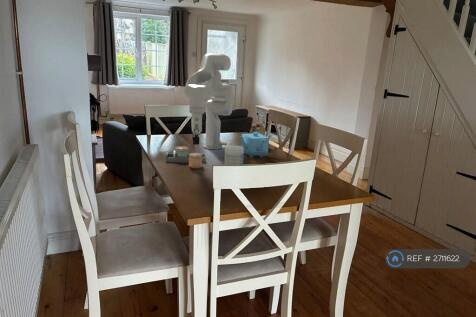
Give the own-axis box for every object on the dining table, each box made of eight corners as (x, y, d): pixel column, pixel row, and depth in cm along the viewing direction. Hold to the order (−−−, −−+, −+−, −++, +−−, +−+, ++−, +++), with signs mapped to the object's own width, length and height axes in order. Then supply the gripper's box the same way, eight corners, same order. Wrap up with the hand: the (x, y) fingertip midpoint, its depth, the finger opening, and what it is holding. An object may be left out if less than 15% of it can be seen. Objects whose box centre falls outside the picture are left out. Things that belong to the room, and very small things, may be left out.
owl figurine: (243, 143, 254) (244, 120, 249) (257, 143, 258) (259, 119, 254) (254, 149, 238) (255, 124, 233) (269, 148, 243) (271, 124, 238)
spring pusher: (175, 157, 205) (175, 150, 204) (174, 161, 199) (175, 153, 198) (173, 157, 205) (173, 150, 204) (173, 161, 199) (173, 153, 197)
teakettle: (245, 150, 235) (246, 128, 231) (272, 154, 228) (274, 131, 224) (235, 156, 218) (236, 133, 214) (264, 161, 211) (265, 137, 207)
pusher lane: (204, 158, 209) (204, 151, 208) (205, 163, 200) (205, 155, 199) (166, 158, 206) (166, 150, 205) (166, 162, 197) (165, 155, 196)
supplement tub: (244, 177, 180) (246, 149, 176) (226, 177, 178) (227, 149, 174) (240, 171, 189) (241, 144, 185) (222, 172, 187) (223, 144, 183)
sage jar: (187, 158, 207) (188, 146, 205) (188, 161, 200) (188, 149, 198) (175, 158, 205) (175, 146, 204) (175, 161, 199) (175, 149, 197)
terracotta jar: (201, 165, 197) (202, 153, 195) (202, 169, 190) (202, 156, 188) (188, 165, 195) (188, 152, 194) (188, 169, 189) (189, 156, 187)
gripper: (204, 112, 177) (203, 146, 181) (202, 108, 193) (201, 139, 197) (189, 112, 175) (188, 145, 180) (189, 108, 192) (188, 139, 196)
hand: (195, 142), depth 188 cm, fingers open, 9 cm apart
